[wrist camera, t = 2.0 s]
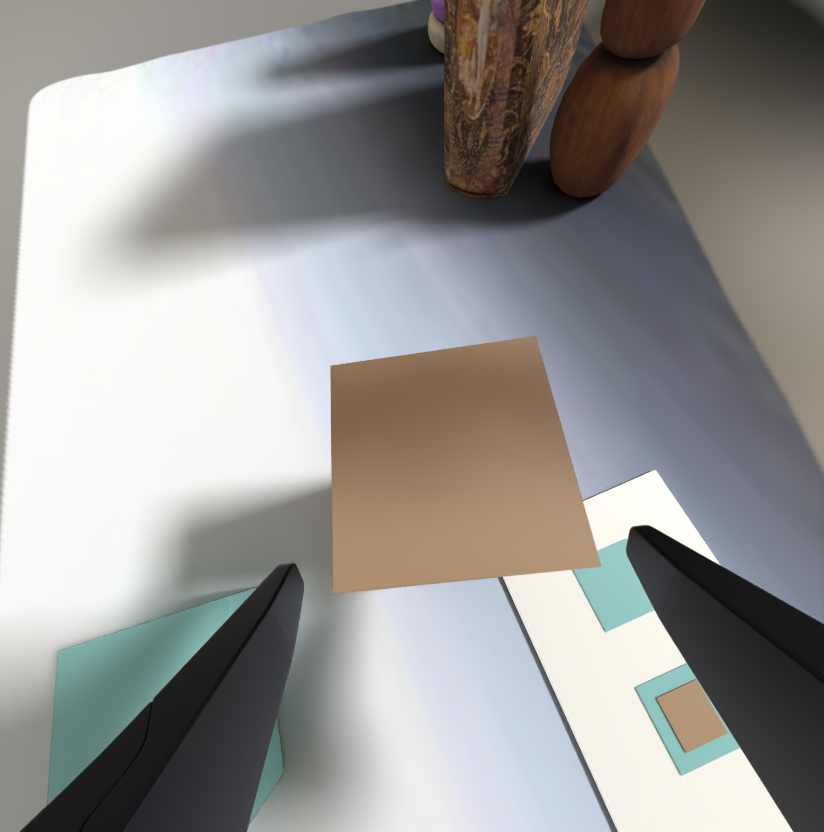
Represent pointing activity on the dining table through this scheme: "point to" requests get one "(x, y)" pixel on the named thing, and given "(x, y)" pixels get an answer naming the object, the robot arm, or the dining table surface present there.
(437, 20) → the stacking toy
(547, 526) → the column brick
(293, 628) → the robot arm
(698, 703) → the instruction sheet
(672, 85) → the wooden figurine
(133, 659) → the base brick
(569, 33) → the book
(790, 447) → the dining table surface
